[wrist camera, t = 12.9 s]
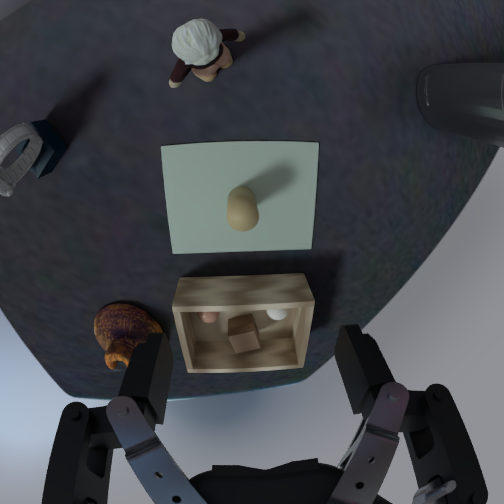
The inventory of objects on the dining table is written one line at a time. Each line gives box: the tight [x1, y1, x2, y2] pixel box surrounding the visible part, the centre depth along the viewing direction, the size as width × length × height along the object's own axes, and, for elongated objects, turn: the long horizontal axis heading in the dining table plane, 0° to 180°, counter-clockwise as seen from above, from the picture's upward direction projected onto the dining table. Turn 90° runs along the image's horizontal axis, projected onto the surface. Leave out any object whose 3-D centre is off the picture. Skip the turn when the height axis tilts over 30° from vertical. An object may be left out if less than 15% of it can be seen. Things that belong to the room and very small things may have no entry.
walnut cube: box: [228, 314, 260, 353], centre depth 37 cm, size 4×4×4 cm
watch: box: [0, 120, 68, 197], centre depth 21 cm, size 6×8×11 cm
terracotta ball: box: [197, 311, 220, 323], centre depth 35 cm, size 3×3×3 cm
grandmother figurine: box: [169, 19, 245, 88], centre depth 18 cm, size 8×4×13 cm, turn 139°
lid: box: [161, 141, 319, 254], centre depth 29 cm, size 17×13×6 cm
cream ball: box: [267, 308, 289, 320], centre depth 36 cm, size 3×3×3 cm
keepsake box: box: [172, 273, 315, 373], centre depth 36 cm, size 16×12×6 cm
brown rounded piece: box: [94, 303, 163, 369], centre depth 36 cm, size 12×12×7 cm
